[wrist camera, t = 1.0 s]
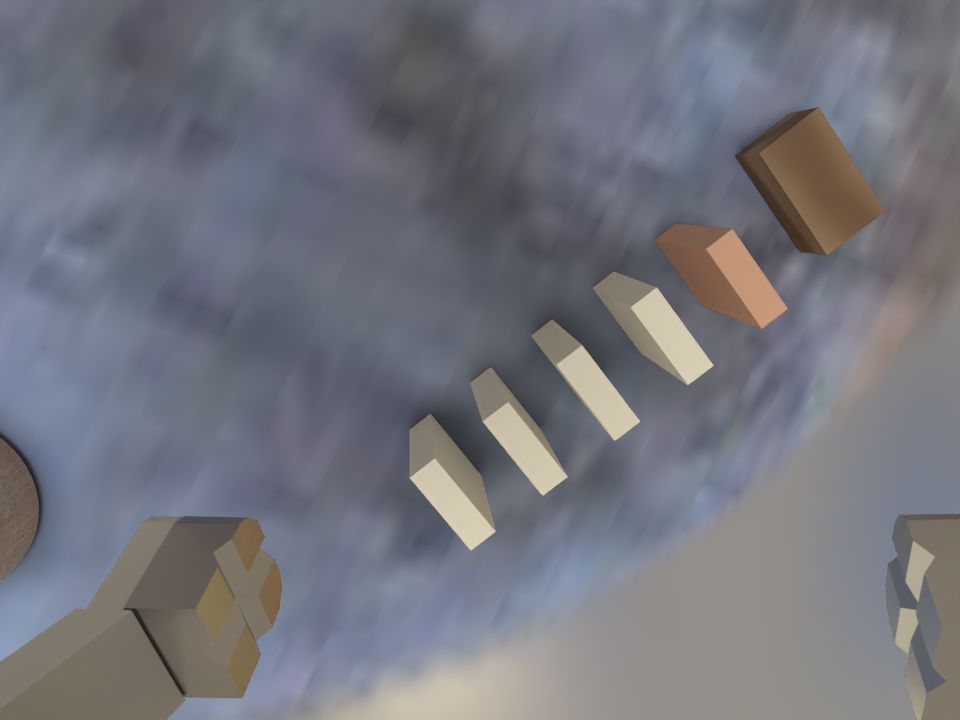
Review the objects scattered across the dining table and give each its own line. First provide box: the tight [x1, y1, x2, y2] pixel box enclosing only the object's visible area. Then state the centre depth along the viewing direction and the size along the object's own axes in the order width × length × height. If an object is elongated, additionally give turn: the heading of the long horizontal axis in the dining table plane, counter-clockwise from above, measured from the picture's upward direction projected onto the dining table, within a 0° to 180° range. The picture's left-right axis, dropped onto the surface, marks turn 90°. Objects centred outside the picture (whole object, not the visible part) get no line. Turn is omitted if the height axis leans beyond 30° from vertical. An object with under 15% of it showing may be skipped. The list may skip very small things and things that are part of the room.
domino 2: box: [470, 367, 567, 496], centre depth 48 cm, size 2×5×9 cm, turn 38°
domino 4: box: [593, 272, 713, 385], centre depth 47 cm, size 2×5×9 cm, turn 38°
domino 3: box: [531, 319, 640, 440], centre depth 47 cm, size 2×5×9 cm, turn 38°
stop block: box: [735, 107, 885, 255], centre depth 49 cm, size 4×7×4 cm, turn 37°
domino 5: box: [655, 223, 787, 328], centre depth 47 cm, size 2×5×9 cm, turn 38°
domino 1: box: [410, 413, 496, 550], centre depth 48 cm, size 2×5×9 cm, turn 38°
